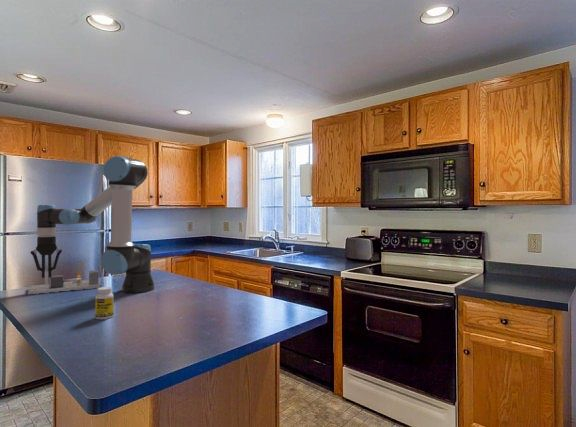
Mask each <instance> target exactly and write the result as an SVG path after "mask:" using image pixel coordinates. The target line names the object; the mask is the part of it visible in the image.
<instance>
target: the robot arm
mask: <svg viewBox="0 0 576 427" xmlns="http://www.w3.org/2000/svg"><path fill="white" fill-rule="evenodd" d="M102 172H103V176H104V177H105V178H106V180H108V187H107V188H105V189H104V190H103V191H102V192H101V193H99V194H97V196H95V197H94V198H93V199H92V200H90V201H89V202H88V203H86V204H85V205H83V207H82V208H57V206H56V205H55V204H39V205H37V211H36V224H37V225H36V235H37V238H36V247H35V249H33V250H31V251H30V254H31V256H32V257H33V260H34V263H35V267H36V270H37V271H39V272H41V278H42V279H44V284H45V285H48V284H49V277H51V276H52V271H53V270H56V268H57V264H58V263H59V258H60V255H61V254H62V251H63V249H60V248H58V246H57V239H56V238H57V237H56V234H57V231H56V230H57V227H56V226H57V225H66V226H69V225H76V224H77V225H78V224H92V223H94V222H96V221H97V219H98V215H100V214H101V213H103V211H105V210H106V209H107V208H109V207H111V217H110V218H111V220H110V241H109V242H108V243H107V244H106V251H104V252H103V253H102V254H101V257H100V265H101V267H102V269H103V270H104V271H105V272H106V273H107V274H109V275H113V276H116V275H117V276H118V275H122V274H125V276H124V279H123V282H122V286H121V291H122V292H123V293H126V294H127V293H130V294H133V293H144V292H150V291H153V290H154V289H155V282H154V278H153V276H152V272H151V271H152V249H151V248H152V247H151V245H150V244H148V243H147V244H146V243H145V244H144V243H133V241H132V227H133V226H132V222H133V220H132V217H133V216H132V215H133V191H134V190H136V189H137V188H138V187H140V186H142V184H143V183H144V182H145V181H146V179H147V178H148V173H149V172H148V168H147V165H146V164H145V163H144V162H143V161H142V160H139V159H135V158H131V157H127V156H122V155H114V156H111V157H110V158H108V159H107V160H105V162H104V165H103V170H102ZM38 253H39V255H41V265H40V262H39V259H38V256H37V254H38ZM54 253H56V256H55V259H54V262H53V265H52V255H53V254H54ZM46 256H47V261H48V262H47V264H48V265H47V267H48V268H47V270H46Z"/></svg>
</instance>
